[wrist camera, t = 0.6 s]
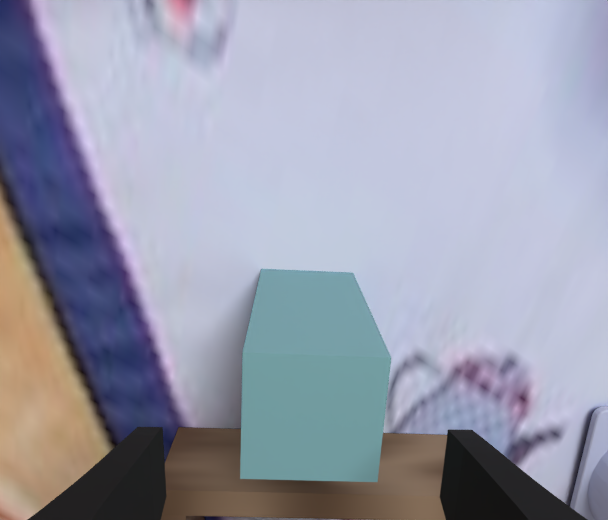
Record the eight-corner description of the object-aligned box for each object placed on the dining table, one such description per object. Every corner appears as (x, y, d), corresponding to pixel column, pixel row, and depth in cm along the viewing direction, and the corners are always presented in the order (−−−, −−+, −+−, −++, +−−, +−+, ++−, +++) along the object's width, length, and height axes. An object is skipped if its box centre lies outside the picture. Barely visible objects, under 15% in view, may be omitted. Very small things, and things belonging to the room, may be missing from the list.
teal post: (352, 272, 20) (391, 357, 12) (346, 355, 21) (377, 482, 13) (261, 268, 20) (242, 352, 12) (259, 352, 21) (240, 478, 13)
